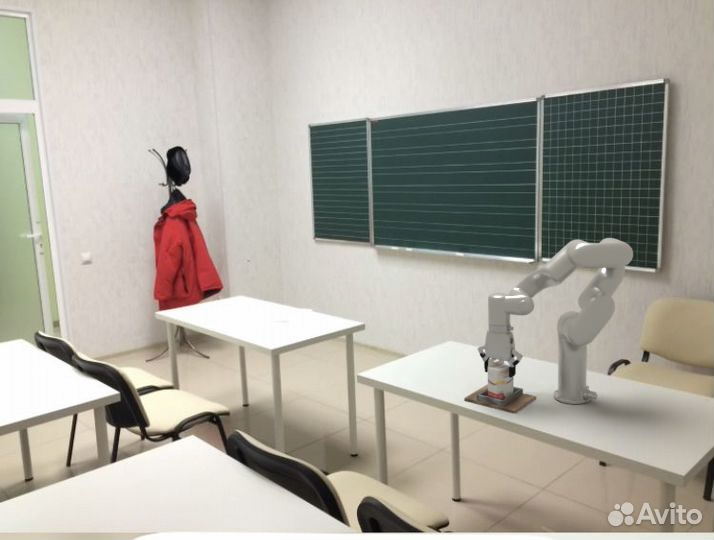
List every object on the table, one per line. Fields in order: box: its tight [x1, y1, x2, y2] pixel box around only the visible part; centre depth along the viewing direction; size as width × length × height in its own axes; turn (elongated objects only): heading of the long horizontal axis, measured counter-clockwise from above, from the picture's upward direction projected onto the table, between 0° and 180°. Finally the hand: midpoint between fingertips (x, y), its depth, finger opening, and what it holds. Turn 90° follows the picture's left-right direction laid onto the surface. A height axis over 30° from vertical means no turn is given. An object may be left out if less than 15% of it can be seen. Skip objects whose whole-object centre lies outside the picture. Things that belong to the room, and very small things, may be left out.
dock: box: [464, 384, 537, 414], centre depth 221 cm, size 20×16×3 cm
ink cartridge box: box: [487, 358, 515, 400], centre depth 220 cm, size 9×5×15 cm, turn 123°
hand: (499, 373), depth 220 cm, fingers open, 9 cm apart
